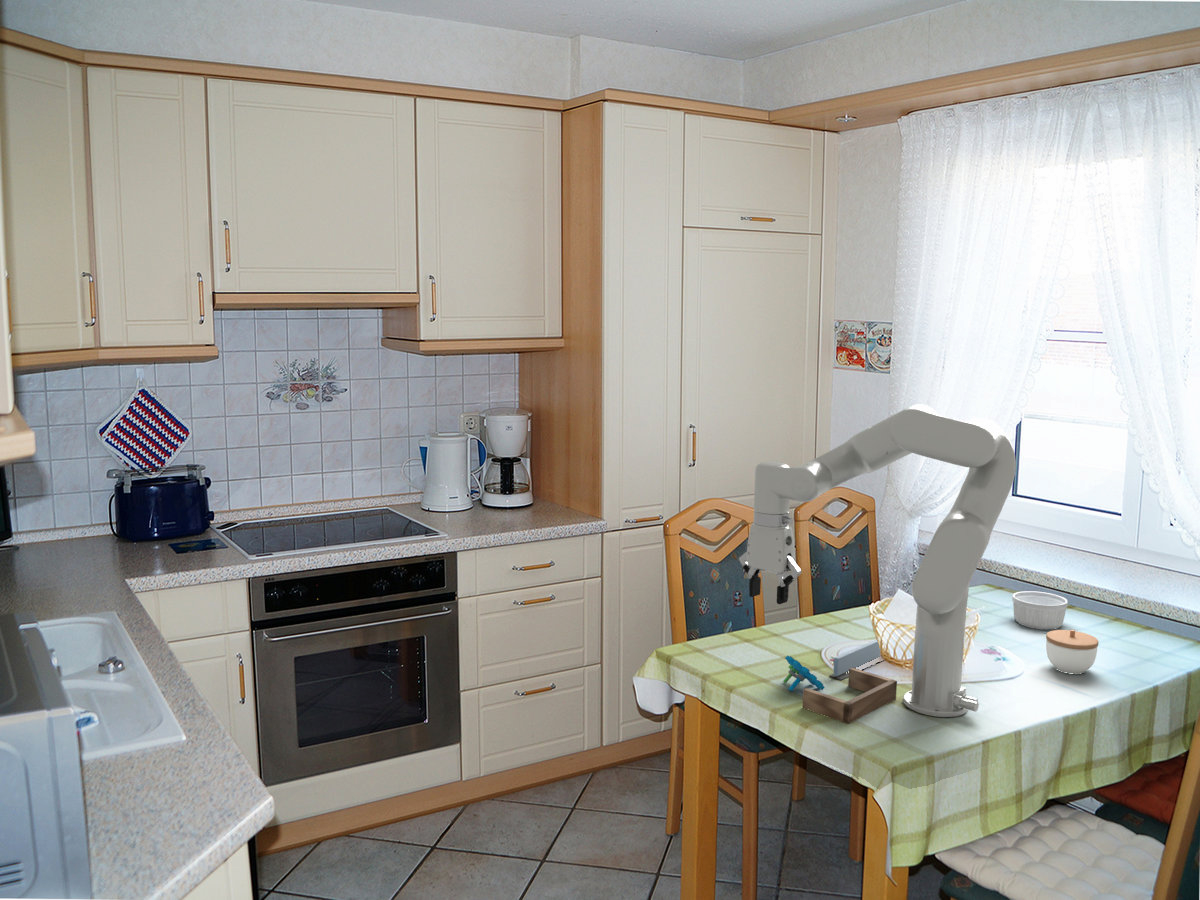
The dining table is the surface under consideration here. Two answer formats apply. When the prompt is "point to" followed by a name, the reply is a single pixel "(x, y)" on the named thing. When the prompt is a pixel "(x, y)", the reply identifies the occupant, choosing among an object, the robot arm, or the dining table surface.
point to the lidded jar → (1071, 650)
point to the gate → (856, 657)
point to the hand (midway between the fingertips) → (768, 598)
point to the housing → (874, 697)
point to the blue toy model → (800, 674)
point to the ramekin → (1039, 609)
